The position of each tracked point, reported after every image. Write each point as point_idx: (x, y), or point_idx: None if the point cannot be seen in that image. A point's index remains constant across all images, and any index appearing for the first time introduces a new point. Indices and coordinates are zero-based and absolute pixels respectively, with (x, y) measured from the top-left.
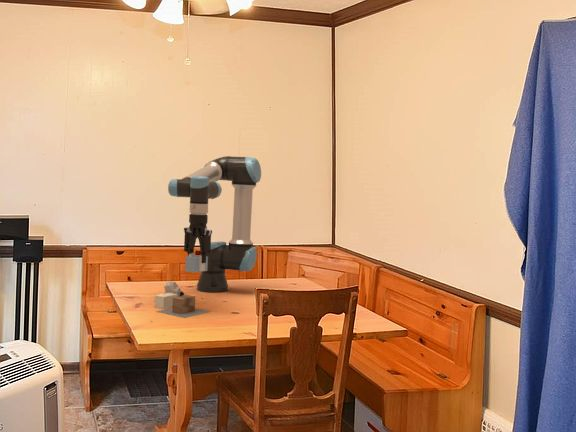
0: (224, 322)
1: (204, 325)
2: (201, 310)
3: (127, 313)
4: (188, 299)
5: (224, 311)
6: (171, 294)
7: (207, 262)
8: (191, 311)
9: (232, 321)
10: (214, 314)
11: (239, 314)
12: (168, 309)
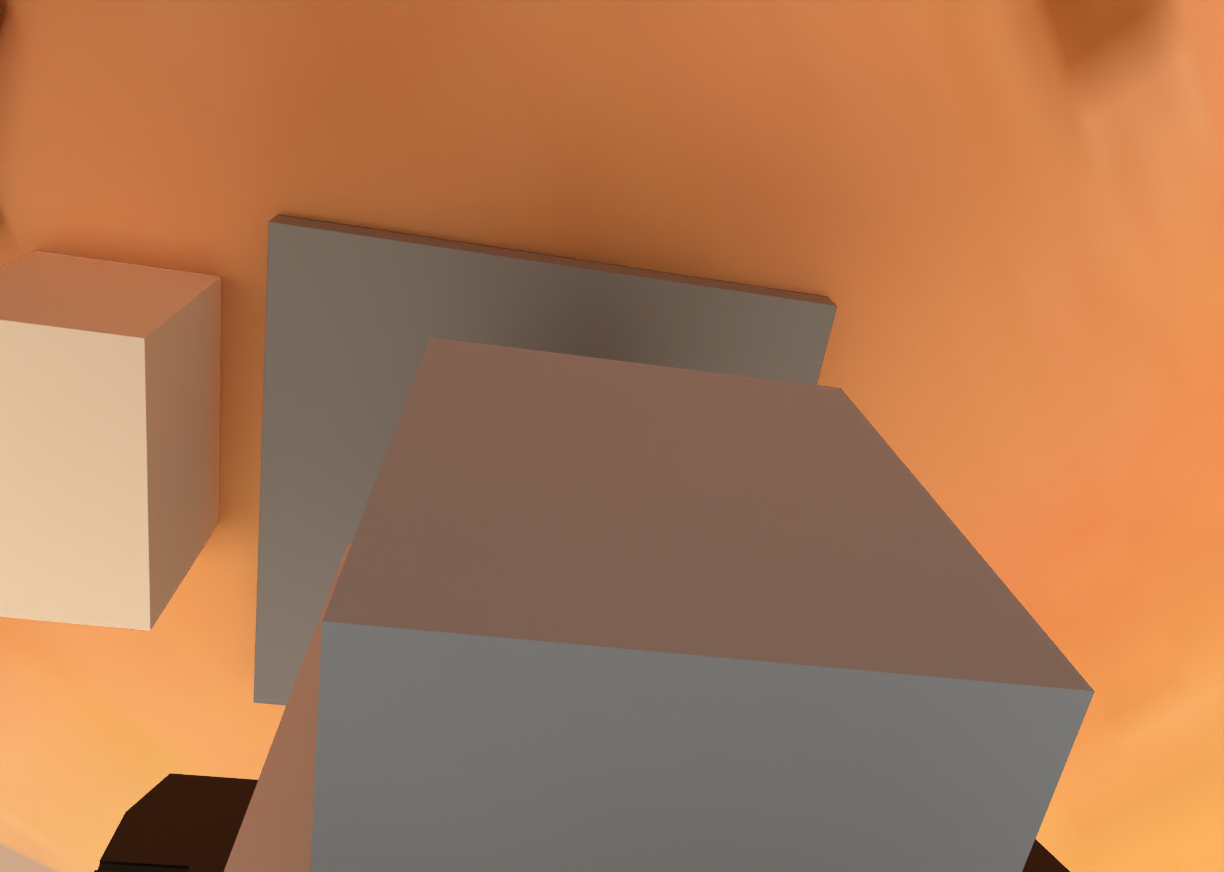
0: (1136, 554)
1: None
2: (684, 330)
3: (12, 823)
4: None
5: (918, 29)
6: (78, 404)
7: (948, 527)
8: None
9: (1206, 467)
10: (871, 289)
11: (1185, 74)
12: (295, 538)
